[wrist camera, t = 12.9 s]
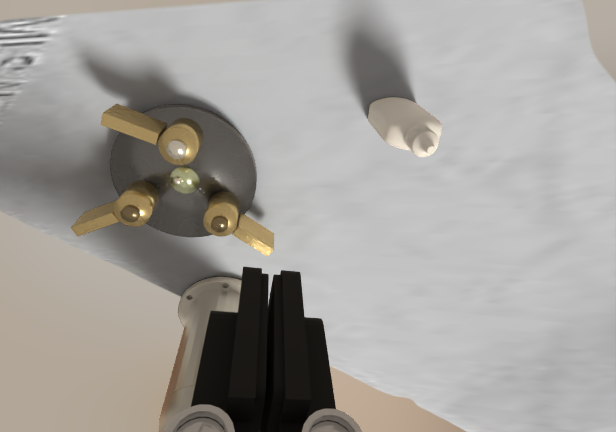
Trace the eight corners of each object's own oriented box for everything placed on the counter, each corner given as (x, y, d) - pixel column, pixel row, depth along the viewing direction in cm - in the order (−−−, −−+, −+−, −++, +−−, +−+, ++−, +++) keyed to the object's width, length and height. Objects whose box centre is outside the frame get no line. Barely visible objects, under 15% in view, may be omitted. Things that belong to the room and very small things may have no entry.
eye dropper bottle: (399, 140, 43) (438, 185, 33) (360, 116, 41) (389, 155, 31) (423, 108, 41) (473, 144, 31) (384, 81, 39) (423, 110, 29)
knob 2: (148, 176, 41) (135, 195, 37) (165, 202, 43) (154, 223, 39) (79, 201, 42) (59, 222, 38) (99, 226, 43) (81, 248, 40)
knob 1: (207, 126, 38) (200, 140, 34) (198, 155, 40) (189, 172, 36) (120, 91, 36) (101, 102, 32) (113, 124, 38) (94, 139, 34)
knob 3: (202, 207, 43) (195, 228, 39) (220, 185, 42) (214, 205, 38) (262, 244, 47) (261, 266, 43) (279, 225, 45) (280, 247, 42)
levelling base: (284, 164, 43) (284, 172, 41) (208, 250, 49) (205, 262, 46) (161, 71, 37) (154, 76, 35) (90, 183, 42) (80, 192, 40)
